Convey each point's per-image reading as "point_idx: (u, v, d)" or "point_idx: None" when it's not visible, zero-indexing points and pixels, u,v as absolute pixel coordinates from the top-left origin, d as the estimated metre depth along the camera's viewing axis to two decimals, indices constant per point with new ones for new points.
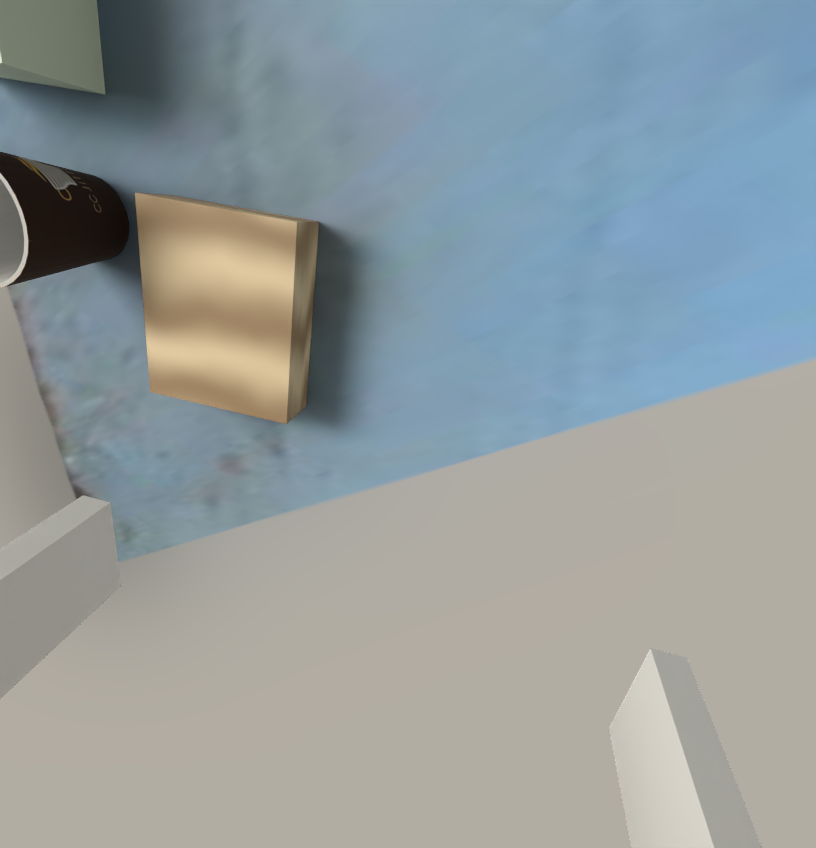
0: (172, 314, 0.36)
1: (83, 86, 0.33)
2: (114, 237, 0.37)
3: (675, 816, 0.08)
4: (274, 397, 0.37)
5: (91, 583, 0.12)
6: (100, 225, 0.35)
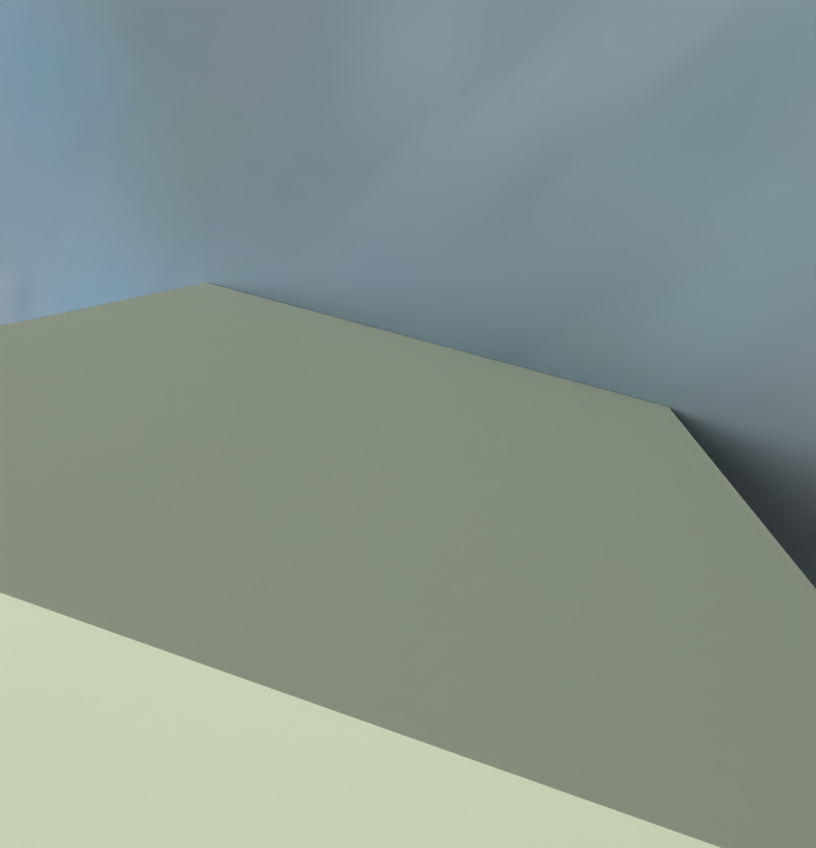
0: None
1: None
2: None
3: None
4: None
5: None
6: None
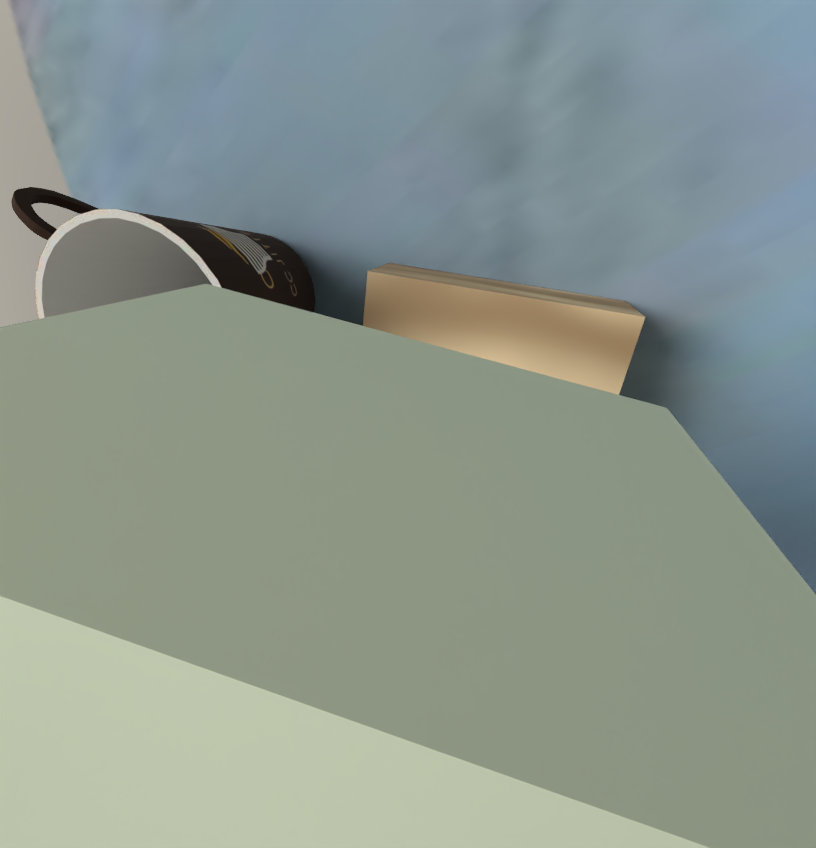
0: None
1: None
2: None
3: None
4: None
5: None
6: None
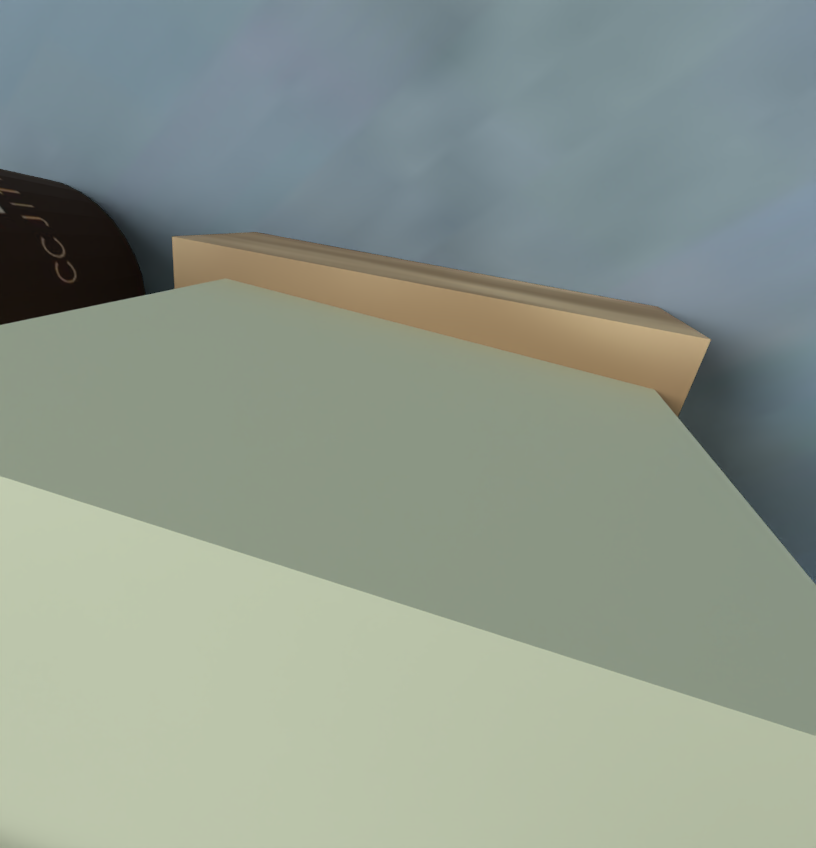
0: None
1: None
2: None
3: None
4: None
5: None
6: None
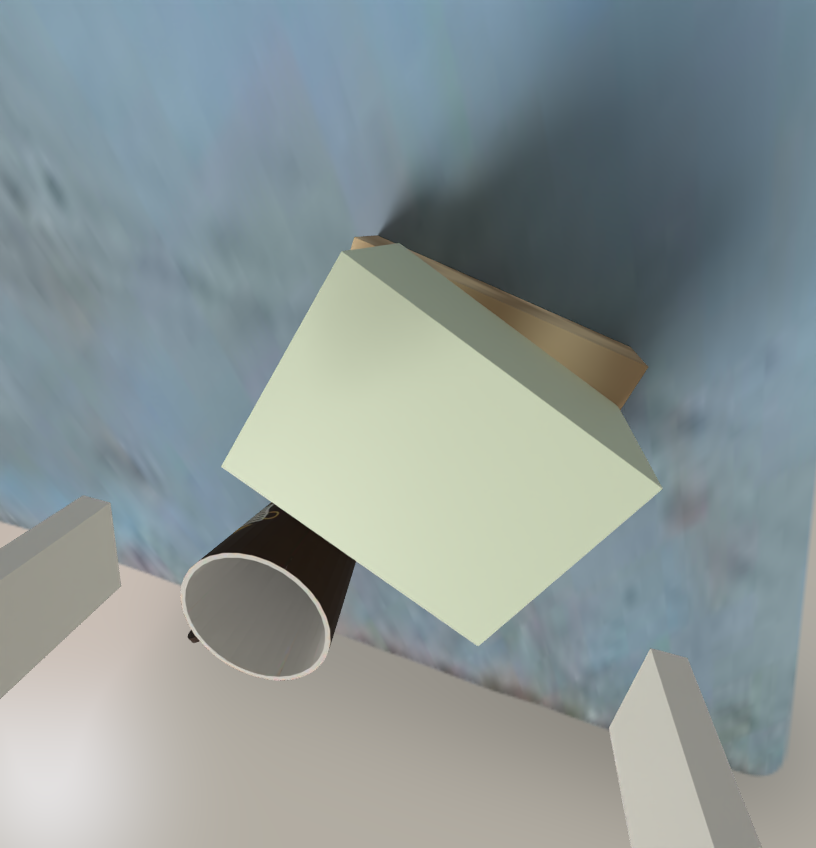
0: None
1: (625, 421, 0.21)
2: None
3: (675, 816, 0.08)
4: (595, 369, 0.23)
5: (91, 583, 0.12)
6: None
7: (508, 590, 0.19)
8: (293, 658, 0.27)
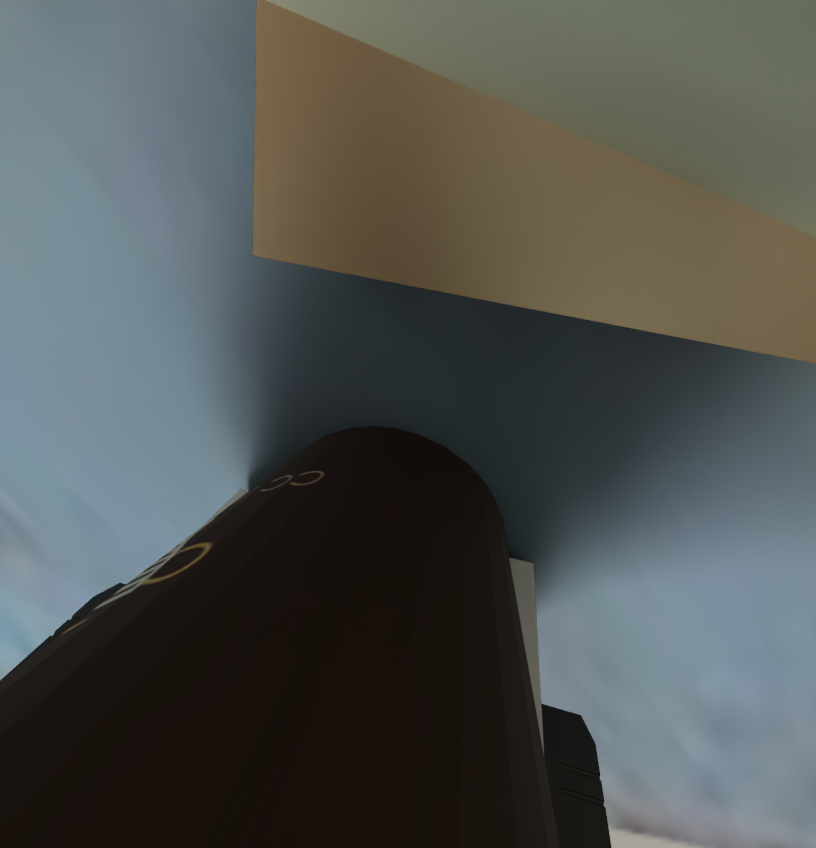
0: None
1: None
2: (429, 470, 0.10)
3: None
4: None
5: None
6: (367, 487, 0.09)
7: None
8: None
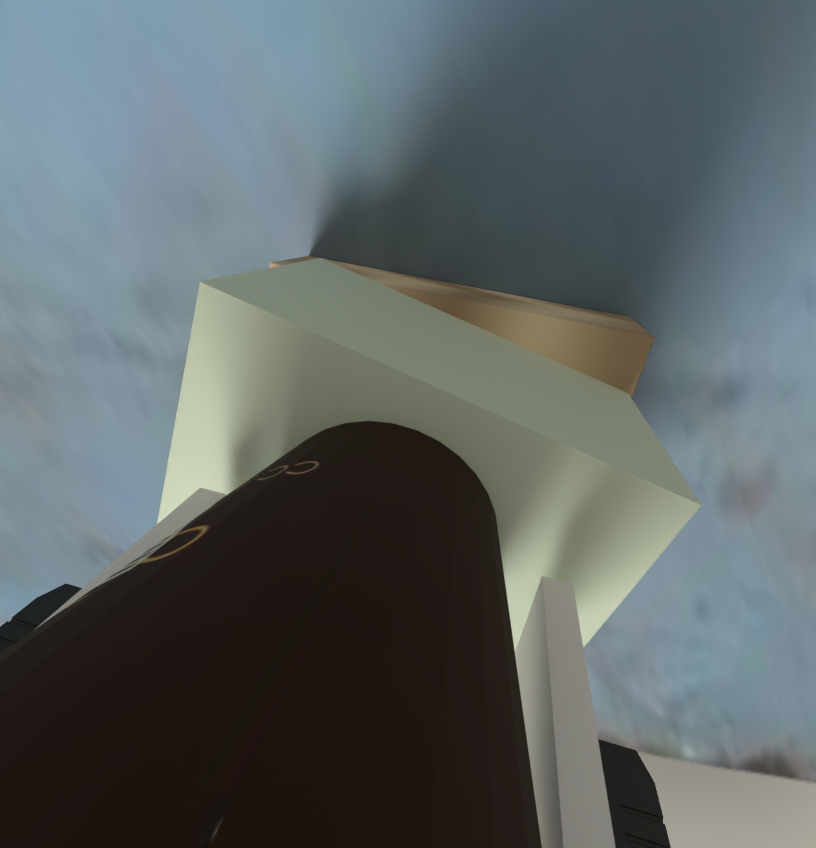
0: None
1: (639, 412, 0.16)
2: (422, 462, 0.10)
3: (538, 700, 0.10)
4: (589, 354, 0.18)
5: None
6: (359, 476, 0.09)
7: None
8: None
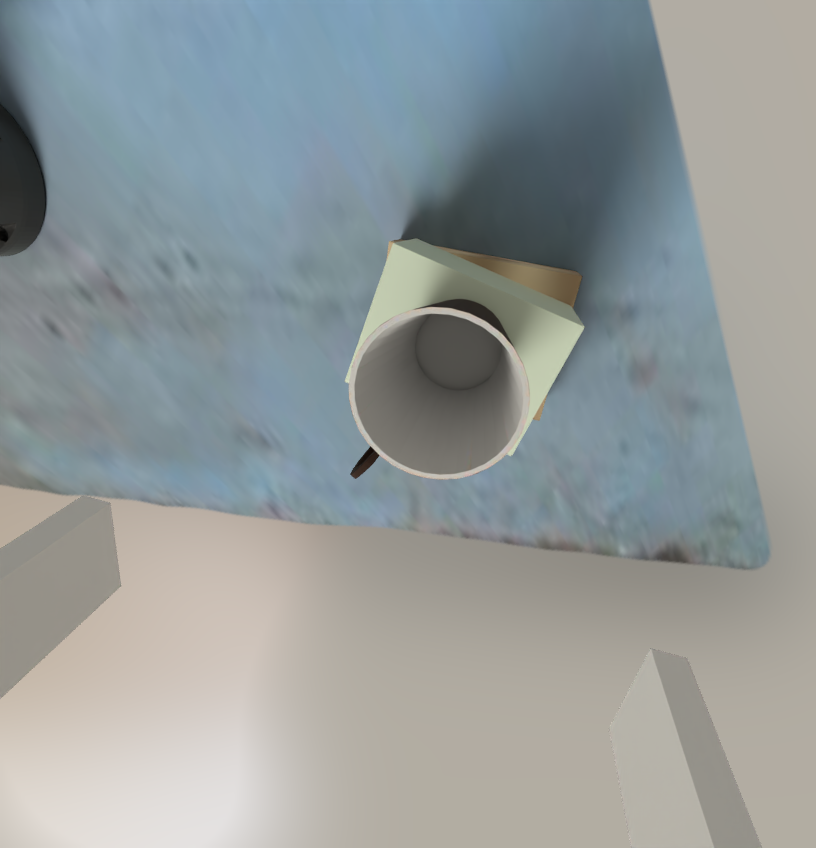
0: None
1: (573, 310, 0.35)
2: (481, 306, 0.29)
3: (675, 816, 0.08)
4: (551, 286, 0.36)
5: (91, 583, 0.12)
6: (464, 302, 0.27)
7: None
8: (479, 454, 0.24)
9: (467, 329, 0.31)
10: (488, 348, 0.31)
